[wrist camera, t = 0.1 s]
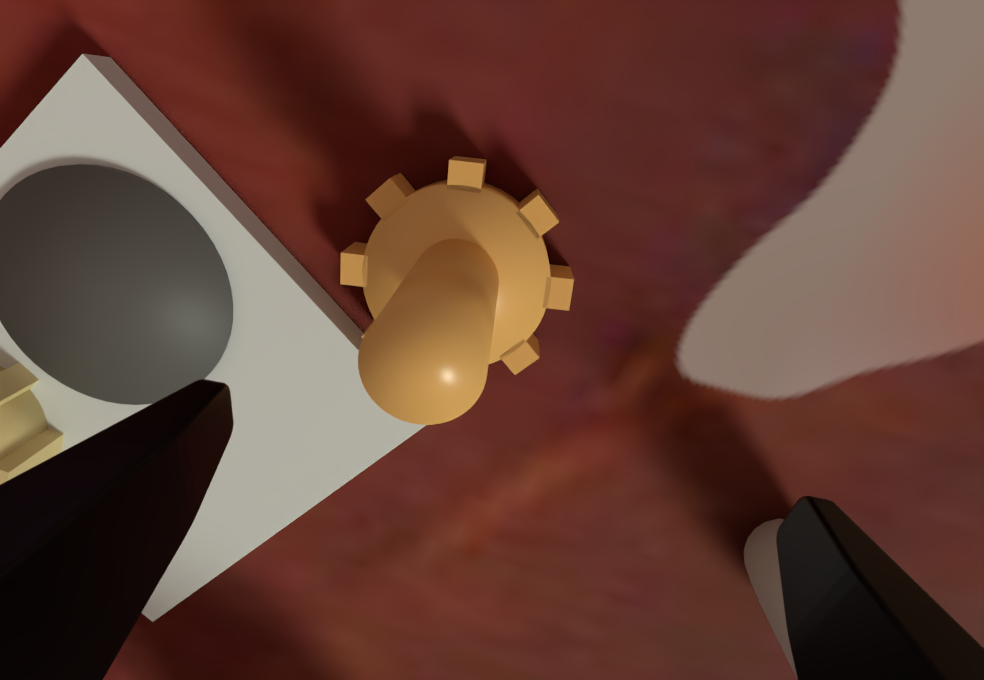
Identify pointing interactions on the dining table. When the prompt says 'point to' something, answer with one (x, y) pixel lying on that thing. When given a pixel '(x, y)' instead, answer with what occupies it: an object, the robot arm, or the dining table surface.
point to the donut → (768, 579)
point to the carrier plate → (168, 318)
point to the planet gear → (451, 290)
